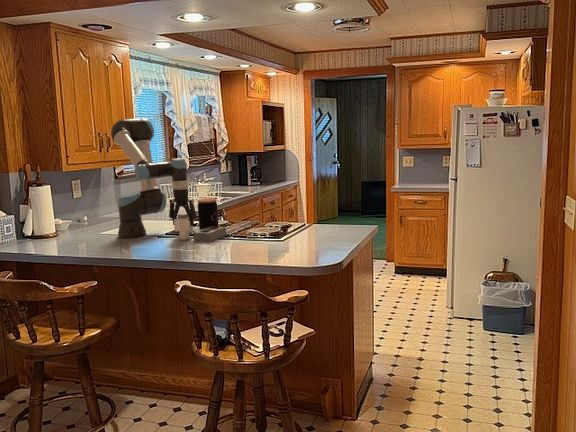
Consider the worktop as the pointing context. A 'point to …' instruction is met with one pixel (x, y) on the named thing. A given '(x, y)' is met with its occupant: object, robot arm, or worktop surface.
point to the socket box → (209, 234)
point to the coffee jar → (207, 213)
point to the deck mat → (183, 240)
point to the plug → (183, 226)
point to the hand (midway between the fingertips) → (184, 231)
